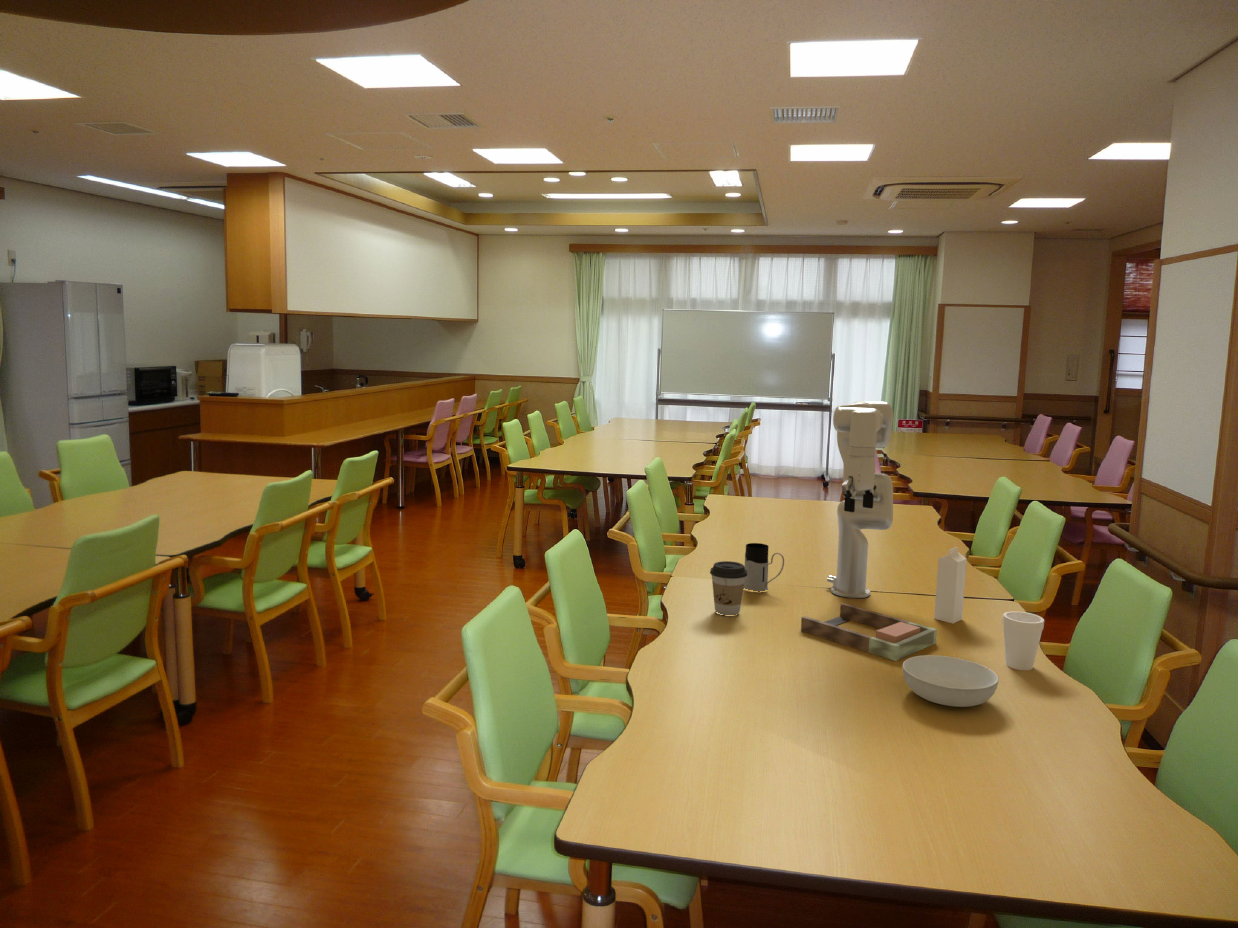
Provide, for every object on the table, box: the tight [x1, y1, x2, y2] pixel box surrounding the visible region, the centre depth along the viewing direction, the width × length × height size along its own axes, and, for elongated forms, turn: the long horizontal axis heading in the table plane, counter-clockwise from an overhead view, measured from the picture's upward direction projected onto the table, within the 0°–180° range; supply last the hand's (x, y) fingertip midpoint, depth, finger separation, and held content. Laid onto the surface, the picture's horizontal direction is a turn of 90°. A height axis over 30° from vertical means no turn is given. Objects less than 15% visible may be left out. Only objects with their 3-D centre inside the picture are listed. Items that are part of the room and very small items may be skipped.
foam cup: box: [1001, 610, 1045, 671], centre depth 213 cm, size 10×9×13 cm
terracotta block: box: [875, 622, 920, 644], centre depth 226 cm, size 6×12×5 cm, turn 129°
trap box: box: [800, 602, 938, 662], centre depth 233 cm, size 30×21×4 cm
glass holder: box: [744, 542, 785, 592], centre depth 275 cm, size 9×14×15 cm, turn 54°
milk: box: [933, 546, 968, 624], centre depth 248 cm, size 6×6×22 cm
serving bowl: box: [902, 654, 999, 708], centre depth 192 cm, size 21×21×7 cm
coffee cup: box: [709, 560, 747, 615], centre depth 251 cm, size 11×11×15 cm
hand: (858, 509), depth 245 cm, fingers open, 9 cm apart
